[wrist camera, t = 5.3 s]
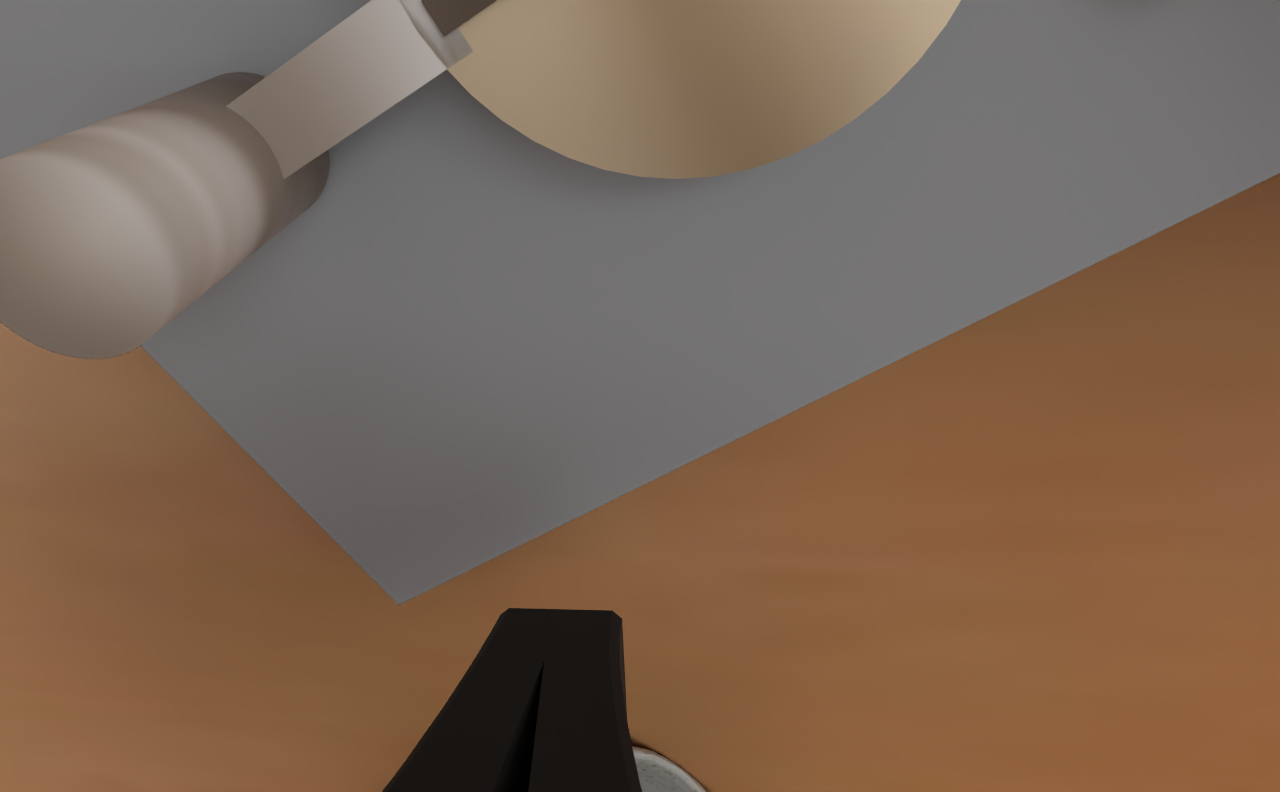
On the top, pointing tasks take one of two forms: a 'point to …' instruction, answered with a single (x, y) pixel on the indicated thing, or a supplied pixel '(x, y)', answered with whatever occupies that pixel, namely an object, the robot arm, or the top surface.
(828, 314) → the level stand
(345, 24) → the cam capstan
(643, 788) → the ceramic mug
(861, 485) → the top surface
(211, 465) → the top surface
